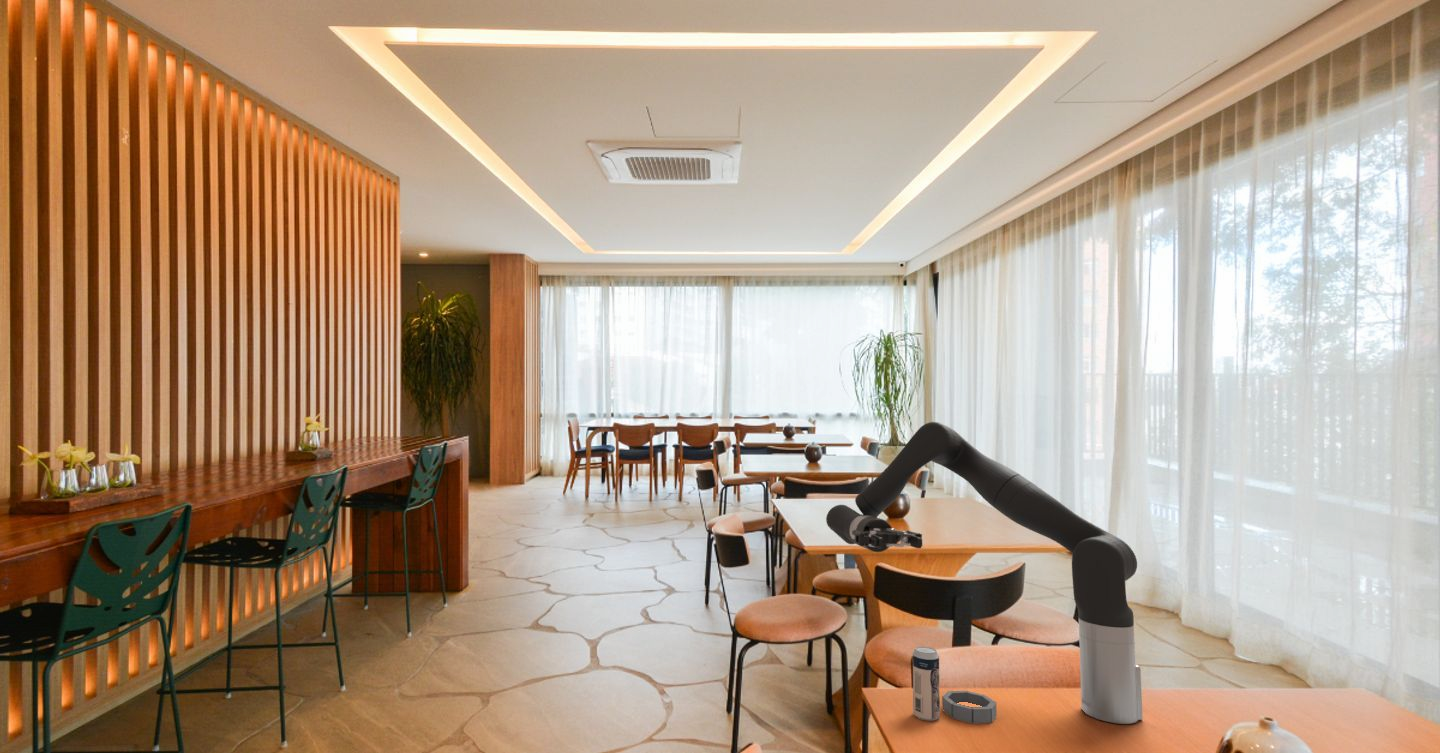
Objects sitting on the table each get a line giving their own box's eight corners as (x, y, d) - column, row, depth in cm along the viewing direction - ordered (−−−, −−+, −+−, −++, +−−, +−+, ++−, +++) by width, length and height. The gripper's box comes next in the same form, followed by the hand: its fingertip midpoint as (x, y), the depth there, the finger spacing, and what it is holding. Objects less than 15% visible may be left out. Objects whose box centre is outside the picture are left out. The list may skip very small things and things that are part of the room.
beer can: (941, 723, 118) (940, 654, 119) (914, 720, 119) (913, 652, 120) (938, 713, 122) (937, 647, 124) (911, 710, 123) (911, 644, 125)
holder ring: (978, 703, 128) (978, 690, 128) (1005, 722, 119) (1004, 708, 119) (935, 704, 126) (935, 691, 127) (959, 724, 117) (959, 709, 118)
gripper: (841, 516, 150) (867, 524, 134) (899, 516, 152) (932, 525, 136) (841, 549, 149) (867, 561, 133) (899, 549, 151) (933, 561, 135)
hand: (900, 543), depth 134 cm, fingers open, 8 cm apart
